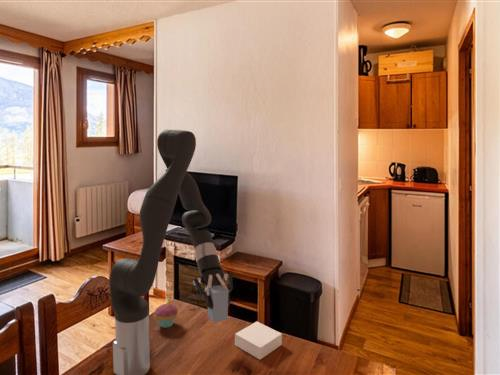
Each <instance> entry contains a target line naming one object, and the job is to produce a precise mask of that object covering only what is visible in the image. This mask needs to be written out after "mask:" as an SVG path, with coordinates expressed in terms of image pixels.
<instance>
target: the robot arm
mask: <svg viewBox="0 0 500 375" xmlns="http://www.w3.org/2000/svg"><path fill="white" fill-rule="evenodd" d="M195 135H196V134H194V133H193V132H192V131H189V130H184V129H183V130H182V129H181V130H179V129H164V130H162V131H161V132H160V133H159V134H158V137H157V138H156V139H157V140H156V143H157V144H156V147H157V150H158V153H159V155H160V157H161V160H162V161H163V163H164V164H165V167H166V169H167V170H166V171H165V172H164V173H163V174H162V175H161V176H160V177H159V178H158V179H157V180H156V181H155V182H154V183H153V184H152V185H151V186H150V187H149V188H148V190H147V191H146V192H145V196H144V198H143V201H142V202H141V206H140V210H139V224H140V229H141V234H142V247H141V252H140V255H139V257H138V260H136V259H131V258H127V257H126V258H121V259H118V260H117V261H115V263H114V264H113V266H112V267H111V271H110V274H109V293H110V301H111V302H110V303H111V305H110V306H111V309H112V310H113V312H114V313H113V314H114V325H115V326H114V327H115V329H114V330H115V332H114V333H115V340H113V342H112V358H113V359H112V360H113V373H114V374H115V375H146V374H147V373H149V371H150V369H151V366H150V365H151V364H150V363H151V359H150V356H151V355H150V354H151V352H150V306H149V303H148V301H147V300H146V299H145V298H144V296H146V295H147V294H148V293H149V292H150V290H151V288H152V287H153V285H154V282H155V279H156V275H157V270H158V267H159V262H160V256H161V253H162V248H163V245H164V244H163V243H164V240H165V237H166V234H167V232H168V228H169V224H170V222H171V220H172V216H173V213H174V210H175V207H176V203H177V199H178V196H179V199H180V201H181V204H182V207H183V208H184V209H185V210H186V211H185V212H184V213H183V214H182V216H181V221H182V225H183V226H184V228H185V230H186V231H187V232H188V234H189V236H190V239H191V242H192V246H193V249H194V255H195V262H196V263H197V269H198V273H199V275H200V276H199V277H196V278H194V279H193V281H192V285H193V287H194V289H195V291H196V294H197V296H198V297H199V298H203V299H205V302H206V305H207V309H208V308H210V309H213V307H214V306H213V302H212V298H211V296H210V290H209V288H211V286H216V285H221V286H224V287H225V288H227V289H228V306H230V304H231V297H230V292H231V291H232V290H233V289H234V285H233V274H232V272H229V273H225V272H224V271H223V269H222V265H221V263H220V259H219V255H218V252H217V249H216V247H215V244H214V240H213V237H212V234H211V232H210V231H209V230H208V229H200V228H204V227H207V226H209V225H210V224H211V222H212V216H211V213H210V211H209V209H208V208H207V206H206V205H205V203H204V202H203V200H202V197H201V193H200V188H199V186H198V184H197V182H196V180H195V178H193V176H192V175H191V174H190V173H189V172H188V169H189V167H190V164H191V162H192V161H193V160H192V159H193V158H194V154H195V151H196V147H197V141H196V140H197V138H196V136H195ZM224 280H225V281H226V283H225V281H224ZM201 284H204V285H205V286H204V287H205V288H204V289H203V287H202V285H201Z"/></svg>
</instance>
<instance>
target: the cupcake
mask: <svg viewBox="0 0 500 375" xmlns="http://www.w3.org/2000/svg"><path fill="white" fill-rule="evenodd" d="M170 302H171V291H169V293H168V295H167V304H166V303H164V304H160V306H159V305H158V307H156V308H155V310H154V312H153V318H154V319H155V320H157V322H158V324H159V326H160V327H161V328H165V329H166V328H170V327H172V325H173V324H174V322H175V320H176V318H177V317H178V314H179V309H178V308H177V306H176V305H174V304H171V303H170Z"/></svg>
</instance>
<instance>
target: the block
mask: <svg viewBox="0 0 500 375" xmlns="http://www.w3.org/2000/svg"><path fill="white" fill-rule="evenodd" d="M209 290H210V296H211V298H212V302H213V306H214V307H213V309H210V308H208V307H207V317H208V318H209V320H211V322H212V323H214V324H215V323H219V322H224V321H227V320H228V317H229V316H228V315H229V314H228V312H229V305H228V289H227V288H225V287H224V286H221V285H216V286H211V288H209Z"/></svg>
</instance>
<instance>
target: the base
mask: <svg viewBox="0 0 500 375" xmlns="http://www.w3.org/2000/svg"><path fill="white" fill-rule="evenodd" d="M282 338H283V333H281V332H279V331H277V330H275V329H273V328H271V327H269V326H267V325H265V324H263V323H261V322H259V321H255V322H253V323H252V324H250V325H248V326H246V327H245V328H242V329H241V330H239V331H237V332H236V333H235V334H234V346H236V347H238V348H239V349H241V350H242V351H244V352H246V353H248V354H249V355H252V356H253V357H254V358H256V359H258V360H259V361H260V360H262V359H263V358H265V357H266V356H268V355H269V354H271V353H272V352H274V351H275V350H276V349H277V348H279V347H280V346H282V340H283V339H282Z"/></svg>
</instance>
